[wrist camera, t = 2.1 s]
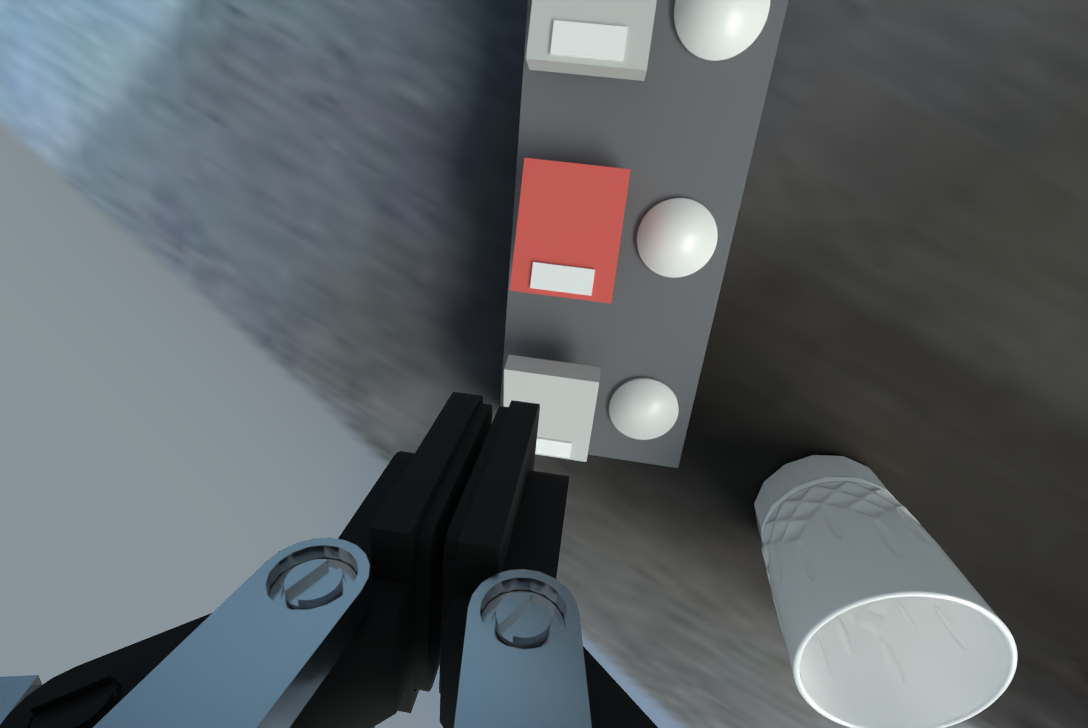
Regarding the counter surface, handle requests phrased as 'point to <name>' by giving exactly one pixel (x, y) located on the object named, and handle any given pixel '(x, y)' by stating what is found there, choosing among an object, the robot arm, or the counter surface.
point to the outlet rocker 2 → (569, 229)
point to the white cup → (874, 603)
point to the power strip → (651, 212)
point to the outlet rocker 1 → (591, 37)
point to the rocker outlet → (556, 402)
